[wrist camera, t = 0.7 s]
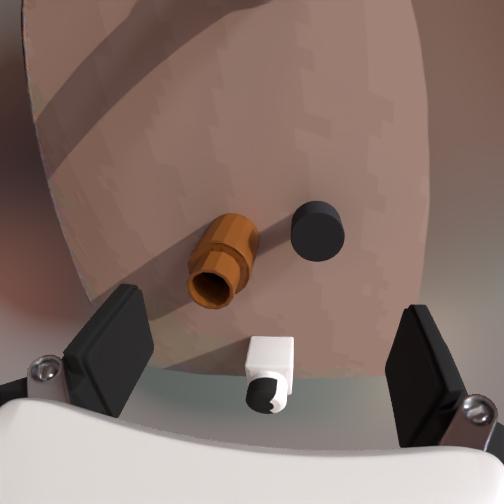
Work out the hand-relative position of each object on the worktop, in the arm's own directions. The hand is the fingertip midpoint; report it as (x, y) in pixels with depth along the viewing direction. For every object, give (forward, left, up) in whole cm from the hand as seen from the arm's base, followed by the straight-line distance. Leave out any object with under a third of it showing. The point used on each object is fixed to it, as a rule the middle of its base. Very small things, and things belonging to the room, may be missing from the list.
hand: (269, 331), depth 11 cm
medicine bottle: (+32, -2, -32) cm, 45 cm away
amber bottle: (+11, -8, -31) cm, 34 cm away
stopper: (+7, +3, -32) cm, 32 cm away
